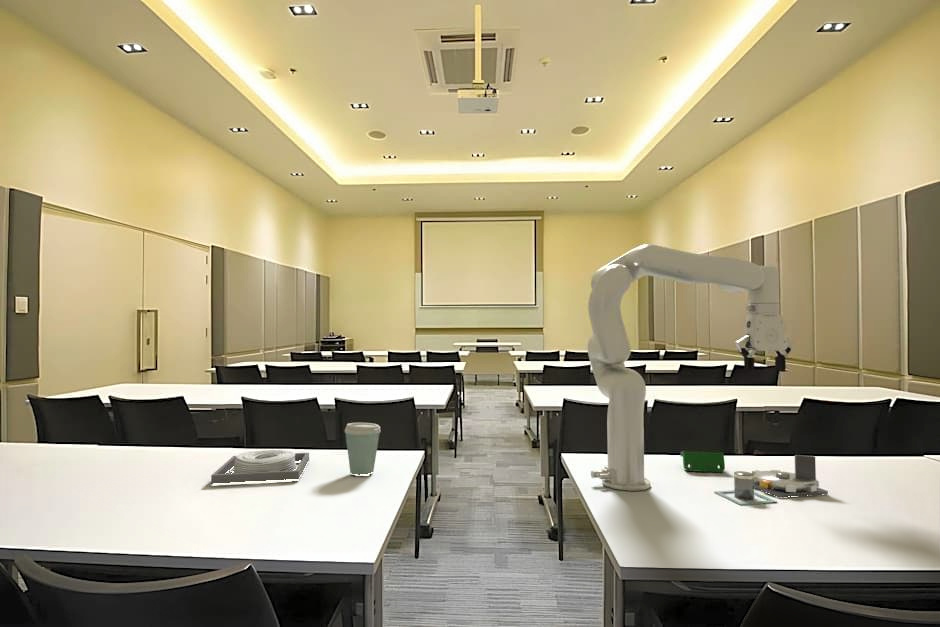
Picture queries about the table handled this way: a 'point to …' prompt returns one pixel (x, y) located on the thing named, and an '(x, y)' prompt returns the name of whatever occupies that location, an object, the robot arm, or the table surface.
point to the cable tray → (258, 476)
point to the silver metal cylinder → (744, 485)
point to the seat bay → (744, 502)
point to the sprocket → (791, 476)
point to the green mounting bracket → (703, 461)
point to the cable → (264, 461)
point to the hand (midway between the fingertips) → (765, 371)
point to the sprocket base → (785, 494)
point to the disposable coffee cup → (362, 446)
